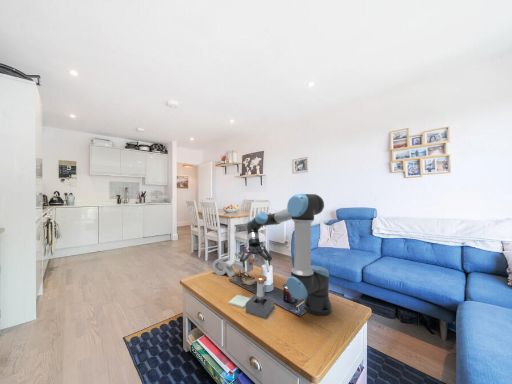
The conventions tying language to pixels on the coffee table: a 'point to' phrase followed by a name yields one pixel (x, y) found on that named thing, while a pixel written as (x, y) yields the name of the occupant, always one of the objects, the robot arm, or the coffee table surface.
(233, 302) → the pad
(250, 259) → the toy
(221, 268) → the sculpture
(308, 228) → the robot arm
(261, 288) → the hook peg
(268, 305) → the eye block
